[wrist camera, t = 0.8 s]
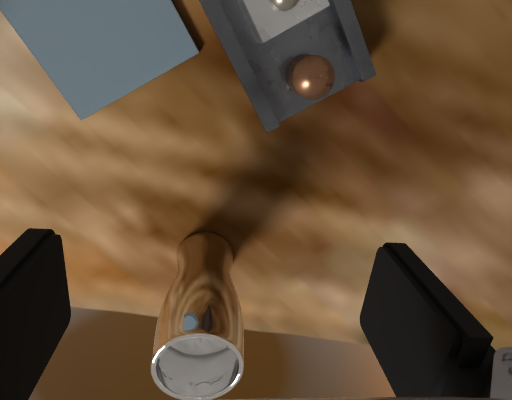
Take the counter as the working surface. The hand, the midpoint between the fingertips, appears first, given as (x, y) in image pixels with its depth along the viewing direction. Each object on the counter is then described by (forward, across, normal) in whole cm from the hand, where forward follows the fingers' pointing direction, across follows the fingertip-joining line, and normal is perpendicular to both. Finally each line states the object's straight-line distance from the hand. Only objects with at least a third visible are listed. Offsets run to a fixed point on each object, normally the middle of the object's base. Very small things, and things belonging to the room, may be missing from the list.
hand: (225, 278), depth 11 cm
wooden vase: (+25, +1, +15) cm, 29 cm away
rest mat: (+25, +10, -7) cm, 28 cm away
